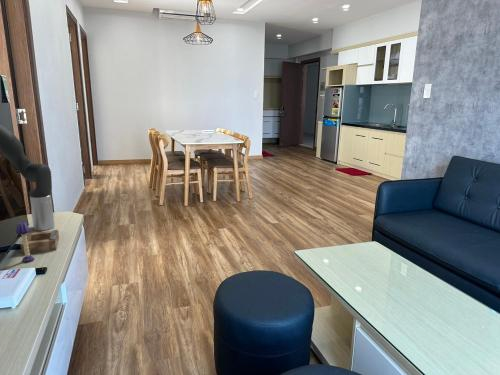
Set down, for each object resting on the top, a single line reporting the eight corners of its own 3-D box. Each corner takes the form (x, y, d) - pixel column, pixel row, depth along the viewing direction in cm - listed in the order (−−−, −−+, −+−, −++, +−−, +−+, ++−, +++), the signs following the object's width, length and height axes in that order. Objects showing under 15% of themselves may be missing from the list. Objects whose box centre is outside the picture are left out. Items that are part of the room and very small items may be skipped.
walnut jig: (21, 254, 150) (20, 243, 149) (27, 242, 162) (26, 232, 161) (56, 250, 155) (54, 239, 154) (59, 239, 167) (58, 229, 165)
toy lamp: (29, 263, 142) (24, 225, 138) (17, 263, 142) (12, 224, 138) (36, 258, 147) (31, 220, 143) (25, 258, 147) (20, 220, 143)
